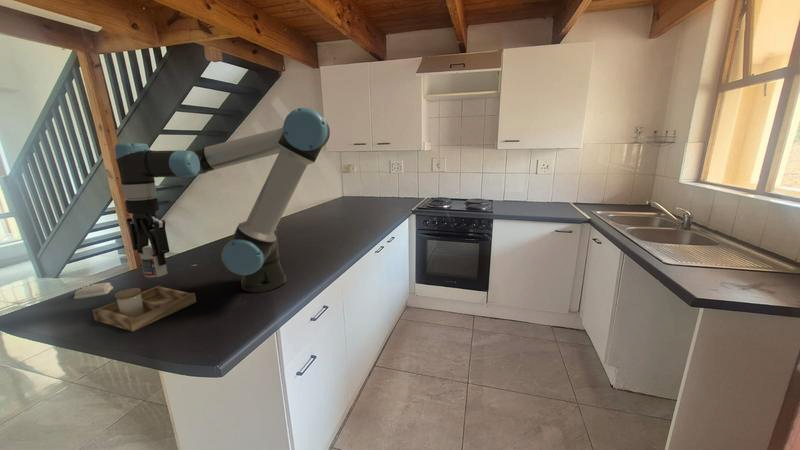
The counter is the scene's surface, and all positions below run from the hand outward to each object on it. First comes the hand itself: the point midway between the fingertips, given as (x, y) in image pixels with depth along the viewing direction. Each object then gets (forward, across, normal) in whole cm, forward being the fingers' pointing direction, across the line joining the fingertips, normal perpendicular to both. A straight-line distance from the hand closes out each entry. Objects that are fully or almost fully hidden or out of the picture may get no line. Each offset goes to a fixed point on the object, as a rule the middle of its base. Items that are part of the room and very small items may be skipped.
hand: (155, 273), depth 96 cm
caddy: (+11, 0, +4) cm, 12 cm away
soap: (+12, +33, +1) cm, 35 cm away
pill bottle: (0, 0, 0) cm, 0 cm away
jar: (+10, 0, +8) cm, 13 cm away
